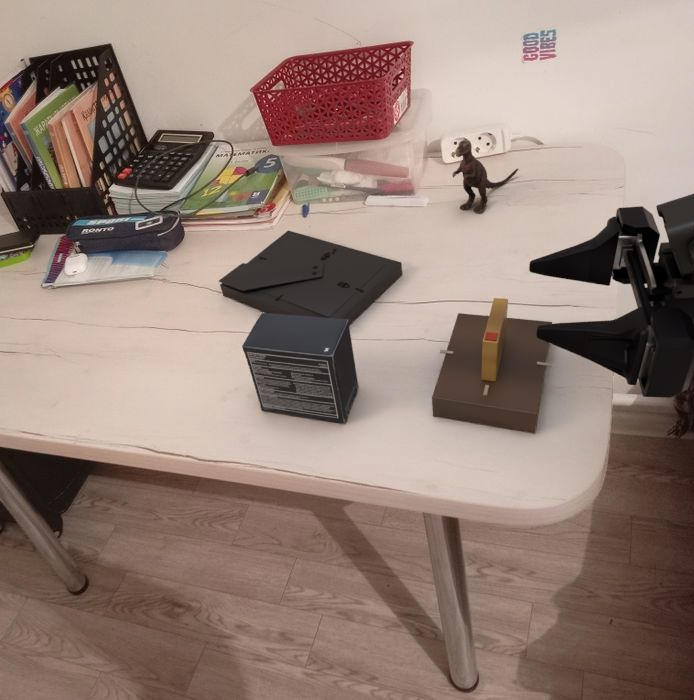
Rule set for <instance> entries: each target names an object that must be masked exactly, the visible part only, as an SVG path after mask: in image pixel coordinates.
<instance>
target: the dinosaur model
mask: <svg viewBox="0 0 694 700" xmlns="http://www.w3.org/2000/svg"><path fill="white" fill-rule="evenodd" d="M454 154H455V157H457V158H460V157H462V160H461V161H460V163H459V166H458V168H457V169H456V170H455V171H453V172H452V178H455V177H456V176H457V175H459V174H460V173H462V179H463V180H462V187H463V190H464V191H465V193H466V194H467V195H468V199H467V201H466V202H465V203H463V204H460V207H459V208H460V210H463V211H466V210H467V211H468V210H470V209H471V208H472V206H473V205H474V202H475V199H476V197H477V195H476V193H475V192H474V190H473V188H475V189H477V190H478V195H479V196H480V200H479V203H478V204H477V205H476V206H474V207H473V209H472V212H474V214H482V213H483V212H485V210H486V208H487V205H488V204H487V203H488V201H489V200H488V196H487V190H489V189H496V188H499V187H501V186H504V185H505V183H507V182H508V181H510V179H512V178H513V177H514V176H515V175H516V173H517V172H518V171H519V170H520V169H519V168H516V169H515V170H514V171H512V172H511V173H510V174H509V175H508V176H507V177H506V178H505V179H503V180H501V181H497V182H492V181H491V180H489V179H488V172H487V169H486V168H485V166H484V165H483V163H482V162H481V161H480V160H478V159H477V158H476V156H474V155H473V152H472V142H471V141H470V140H468V139H465V140H460V141H459V142H458V146H457V147H456V149H455V151H454Z"/></svg>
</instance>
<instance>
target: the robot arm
mask: <svg viewBox="0 0 694 700" xmlns="http://www.w3.org/2000/svg"><path fill="white" fill-rule="evenodd" d="M655 207H656V211H657V215H658V217H659V218H662V221H663V227H664V230H665V233H666V236H667V239H668V241H667V242H666V241H665V242H660V238H661V234H660V230H659V228H658V226H657V223H656V220H655V218H654V215H653V213H652V212H650V211H649V210H648V209H647V208H645V207H644V206H642V205H641V206H627V207H618V208H617V209H616V213H615V216H614V215H613V216H611V217H610V218H609V219H608V220H607V222H606V226H605V227H604V228H603V229H601V231H599V232H598V233H597V234H596V235H595V236H594V237H591V239H588V240H585V241H582V242H580V243H578V244H576V245H573V246H570V247H567V248H564V249H560V250H557V251H556V252H552V253H549V254H547V255H543V256H541V257H538V258H534V259H532V260H530V261H529V266H528V270H529V272H530V273H532V274H536V275H541V276H545V277H551V278H556V279H557V278H558V279H562V280H571V281H576V282H582V283H588V284H595V285H601V286H607V287H609V286H611V282H612V280H613V281H615V282H617V283H620V284H622V285H631V289H632V293H633V295H634V300H635V303H636V306H637V308H635V309H633V310H631V311H629V312H627V313H625V314H624V315H623V314H622V315H621V316H620V317H618V318H614V319H610V320H608V319H607V320H594V321H593V320H590V321H576V322H575V321H573V322H572V321H571V322H557V323H552V324H548V325H540V326H538V327H537V331H536V336H537V338H539V339H541V340H543V341H546V342H548V343H550V344H551V345H553V346H555V347H558V348H560V349H562V350H565V351H567V352H570V353H572V354H574V355H577V356H579V357H581V358H584V359H586V360H588V361H591V362H592V363H595V364H597V365H598V366H600V367H602V368H605V369H607V370H609V371H611V372H612V373H614V374H616V375H619V376H620V377H623V378H624V379H625V380H626V384H627V385H629V386H636V385H637V384H638V383H639V388H640V391H641V394H642V397H643V398H668V399H670V398H673V397H675V396H677V395H680V394H682V393H683V392H686V391H688V390H689V387H690V385H691V381H692V379H693V375H694V193H691V194H688V195H685V196H681V197H679V198H675V199H672V200H669V201H666V202H663V203H660V204H657V205H656V206H655ZM659 243H660V244H659ZM658 247H659V249H658ZM657 249H658V253H657ZM656 254H657V256H658V261H657V262H655V258H656ZM550 344H549V345H550Z"/></svg>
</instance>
